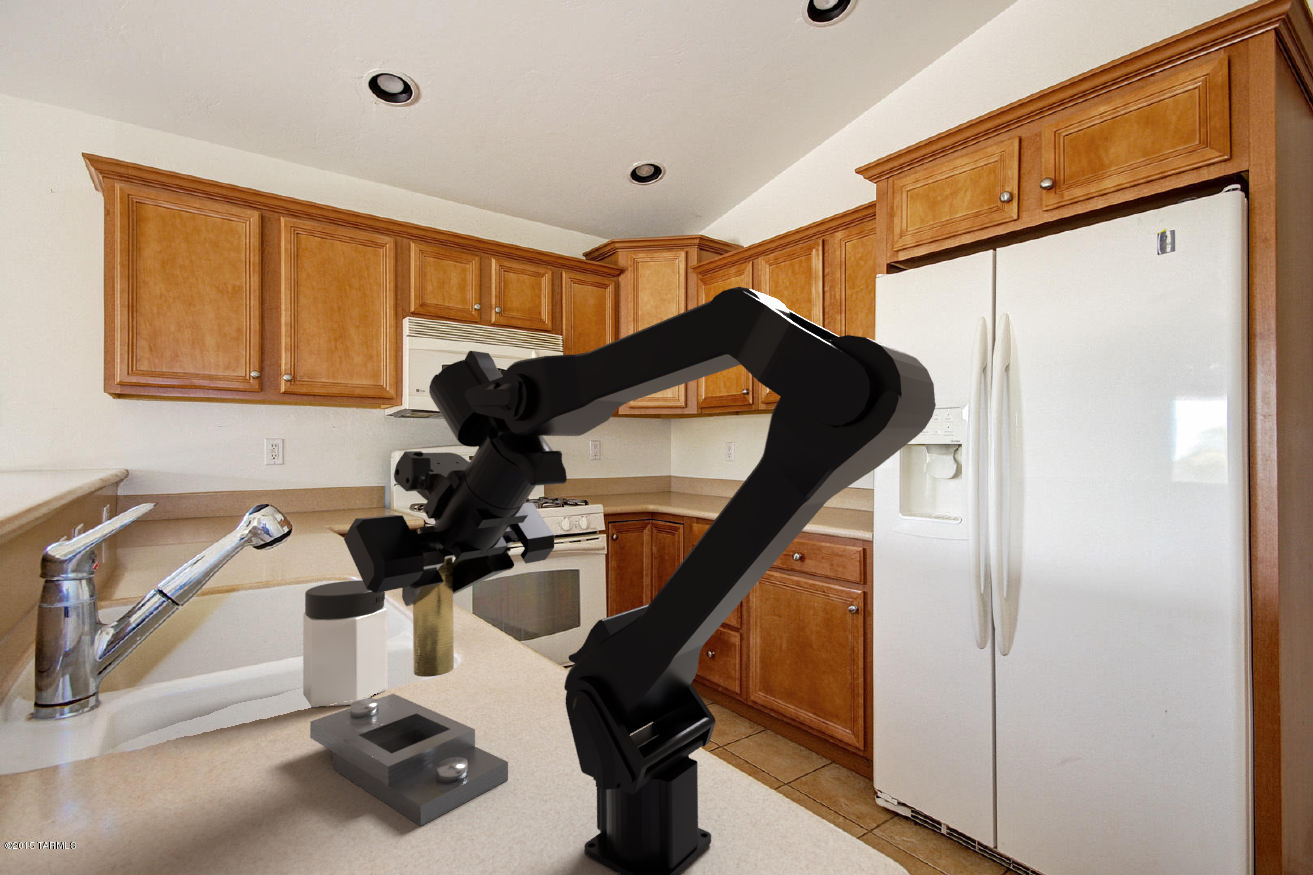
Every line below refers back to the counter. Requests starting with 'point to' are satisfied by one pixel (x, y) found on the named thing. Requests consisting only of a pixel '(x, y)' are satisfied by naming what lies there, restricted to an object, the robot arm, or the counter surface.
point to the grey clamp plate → (408, 756)
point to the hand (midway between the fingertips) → (424, 597)
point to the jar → (343, 643)
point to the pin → (434, 628)
